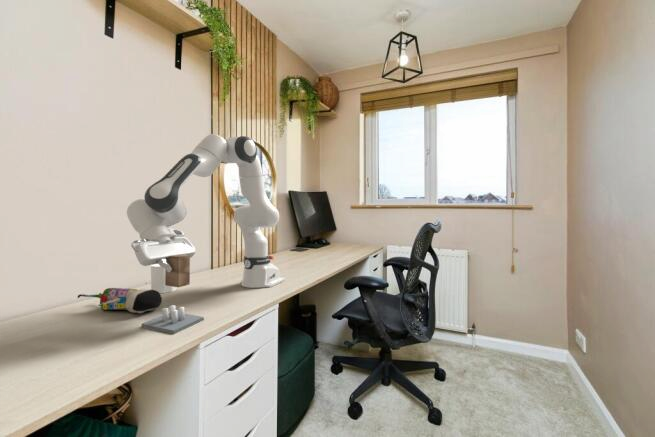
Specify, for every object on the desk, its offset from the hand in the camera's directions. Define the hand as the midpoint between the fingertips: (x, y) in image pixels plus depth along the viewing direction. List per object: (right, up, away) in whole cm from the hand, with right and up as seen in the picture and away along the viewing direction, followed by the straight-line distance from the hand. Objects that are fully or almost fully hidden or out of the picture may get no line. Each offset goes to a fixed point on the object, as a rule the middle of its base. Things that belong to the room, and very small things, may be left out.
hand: (179, 269), depth 101 cm
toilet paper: (-24, -16, +36) cm, 46 cm away
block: (-1, -5, 0) cm, 5 cm away
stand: (-1, -17, -2) cm, 18 cm away
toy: (-26, -17, +12) cm, 33 cm away
